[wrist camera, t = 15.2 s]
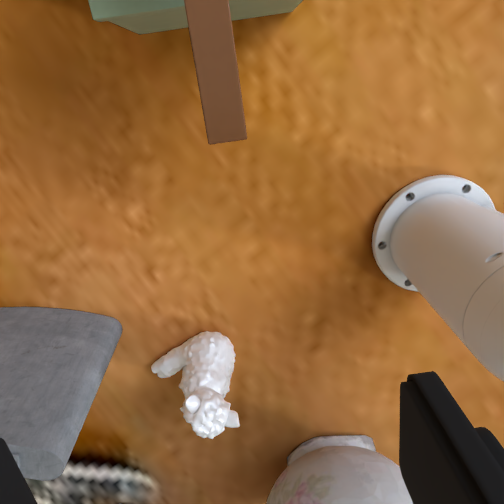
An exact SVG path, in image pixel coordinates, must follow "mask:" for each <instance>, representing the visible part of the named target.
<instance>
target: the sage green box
mask: <svg viewBox="0 0 504 504" xmlns="http://www.w3.org/2000/svg"><path fill="white" fill-rule="evenodd" d="M302 1H303V0H229V6H230V14H231V21H234V20H241V19H247V18H254V17H261V16H267V15H274V14H281V13H288V12H292V11H293V10H294V9H295V8H296V7H297V6H298V5H299V4H300V3H301V2H302ZM88 2H89V6H90V9H91V13H92V17H93V20H95V21H98V22H103V21H109V22H111V23H114V24H116V25H118V26H121V27H123V28H125V29H128V30H130V31H132V32H135V33H137V34H147V33H154V32H160V31H167V30H174V29H180V28H187V27H188V22H187V16H186V10H185V4H184V0H88Z"/></svg>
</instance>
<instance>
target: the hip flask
mask: <svg viewBox="0 0 504 504" xmlns="http://www.w3.org/2000/svg"><path fill="white" fill-rule="evenodd" d="M121 334H122V326H121V324H120V322H119V321H118V320H116V319H114V318H112V317H108V316H104V315H100V314H94V313H89V312H83V311H76V310H69V309H58V308H43V307H3V308H0V438H2V439H4V440H5V442H6V444H7V446H8V448H9V450H10V451H11V453H12V455H13V457H14V459H15V461H16V463H17V465H18V467H19V469H20V471H21V473H22V475H23V477H24V478H29V479H35V480H42V481H46V480H52V479H55V478H57V477H59V476H60V475H61V474H62V473H63V471H64V469H65V466H66V464H67V462H68V459H69V457H70V455H71V452H72V450H73V447H74V445H75V443H76V440H77V438H78V436H79V433H80V431H81V428H82V426H83V424H84V421H85V419H86V417H87V414H88V412H89V410H90V407H91V405H92V402H93V400H94V398H95V395H96V393H97V391H98V388H99V386H100V384H101V381H102V379H103V376H104V374H105V372H106V369H107V367H108V365H109V362H110V360H111V357H112V355H113V353H114V350H115V348H116V346H117V343H118V341H119V339H120V336H121Z"/></svg>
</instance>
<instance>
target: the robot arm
mask: <svg viewBox="0 0 504 504" xmlns="http://www.w3.org/2000/svg"><path fill="white" fill-rule="evenodd" d="M463 186H464V187H463ZM462 187H463V188H462ZM408 193H409V195H408V196H407V197H406V195H407V194H408ZM380 242H382V243H381V244H379V243H380ZM372 249H373V254H374V258H375V260H376V262H377V265H378V266H379V268H380V269H381V271H382V272H383V273H384V274H385V276H386V277H387V278H388V279H389V280H390V281H392V282H393V283H395V284H396V285H398V286H400V287H402V288H404V289H407V290H412V291H417V292H420V293H421V294H422V296H423V297H424V298H425V299H426V300H427V301H428V303H429V304H430V305H431V306H432V307H433V308H434V310H435V311H436V312H437V313H438V314H439V315H440V317H441V318H442V319H443V320H444V321H445V322H446V324H447V325H448V326H449V327H450V328H451V329H452V330H453V332H454V333H455V334H456V335H457V336H458V337H459V339H460V340H461V341H462V342H463V343H464V344H465V346H466V347H467V348H468V349H469V350H470V351H471V353H472V354H473V355H474V356H475V357H476V358H477V359H478V360H479V362H480V363H481V364H482V365H483V366H484V367H485V368H486V369H487V370H488V371H489V372H491V373H492V374H493V375H495V376H496V377H497V378H499V379H501V380H502V381H504V214H502V213H500V212H499V211H497V210H495V207H494V204H493V202H492V201H491V199H490V197H489V196H488V194H487V193H486V192H485V191H484V190H483V189H482V188H481V187H479V186H478V185H476V184H475V183H473V182H471V181H469V180H467V179H464V178H461V177H457V176H453V175H436V176H429V177H426V178H423V179H420V180H417V181H415V182H413V183H411V184H409V185H407V186H405V187H404V188H403V189H401V190H400V191H399V192H397V193H396V194H395V195H394V196H393V197H392V198H391V199H390V200H389V201H388V202H387V203H386V205H385V206H384V208H383V209H382V211H381V212H380V214H379V216H378V218H377V221H376V223H375V226H374V230H373V235H372ZM399 465H400V470H401V474H402V478H403V480H404V483H405V485H406V488H407V490H408V492H409V495H410V497H411V499H412V502H413V504H504V448H503V447H502V446H501V444H500V443H499V442H498V440H497V439H496V437H495V436H494V435H493V434H492V433H491V432H490V431H489V430H488V429H486V428H485V427H478V428H474V427H473V426H472V424H471V423H470V421H469V420H468V418H467V417H466V416H465V414H464V413H463V411H462V410H461V408H460V407H459V405H458V404H457V402H456V401H455V400H454V398H453V397H452V395H451V394H450V392H449V391H448V389H447V388H446V386H445V385H444V383H443V382H442V381H441V379H440V378H439V376H438V375H437V374H436V373H435V372H433V371H432V372H425V373H418V374H410V375H408V377H407V382H401V384H400V448H399ZM0 504H37V502H36V500H35V498H34V496H33V494H32V492H31V490H30V488H29V486H28V484H27V483H26V481H25V479H24V477H23V475H22V473H21V471H20V469H19V467H18V465H17V463H16V461H15V459H14V457H13V455H12V453H11V451H10V450H9V448H8V446H7V444H6V442H5V440H4V439H2V438H0Z"/></svg>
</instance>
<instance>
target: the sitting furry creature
mask: <svg viewBox="0 0 504 504" xmlns="http://www.w3.org/2000/svg"><path fill="white" fill-rule="evenodd" d="M233 348H234V346H233V344H232V343H231V341H230V340H229V339H228V337H227V336H223V335H222V334H221V333H220V332H209V331H205V332H201V333H199V334H198V335H197V336H194V337H193V338H190V339H188V340H187V342H184V343H183V344H182V345H181V346H179V347H176V348H173V349H172V350H171V351H169V352H168V353H167V354H166V355H164V356H162V357H161V358H159V359H158V360H156V361H155V362H154V363H153V364H152V366H151V369H152V371H153V373H157V375H158V377H160V378H166V377H170V376H172V375H175V374H176V373H177V372H178V371H180V370H181V369H182V368H183V369H182V370H183V372H182V380H181V383H180V384H179V388H180V389H182V390H183V393H184V396H185V401H184V403H183V407H182V408H180V410H181V411H182V412H183V413H184V415H183V417H184V418H185V419H186V422H188V423H190V424H191V425H192V427H193V428H192V429H193V431H194V432H196V435H197V436H201V437H202V438H206V437H208V438H210V439H213V438H214V437H215V436H217V435H219V434H220V433H222V432H223V431H224V430H225V428H224V427H230V428H236V427H239V426H240V424H239V418H238V413H237V412H236V411H233V410H230V406H231V403H229V402H226V401H225V400H224V398H225V396H226V394H227V392H229V391H230V389H229V385H230V379H231V375H232V372H233V369H234V362H235V359H234V358H235V356H236V354H235V352H234V350H233Z"/></svg>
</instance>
